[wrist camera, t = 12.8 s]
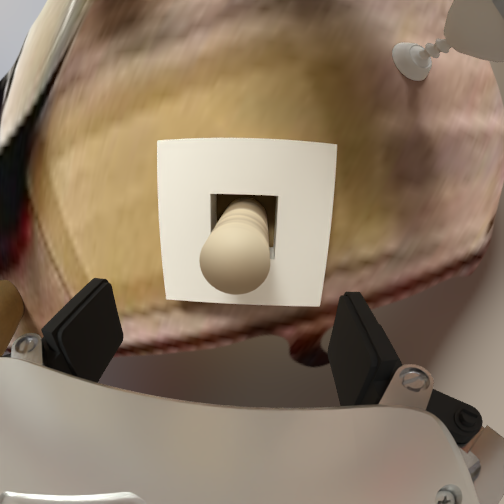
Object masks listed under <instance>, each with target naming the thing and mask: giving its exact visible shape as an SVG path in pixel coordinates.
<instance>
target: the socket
mask: <svg viewBox="0 0 504 504" xmlns="http://www.w3.org/2000/svg"><path fill="white" fill-rule="evenodd" d="M336 158H337V144H329V143H319V142H309V141H296V140H282V139H261V138H193V139H172V140H158V141H157V177H158V208H159V226H160V241H161V253H162V264H163V274H164V283H165V292H166V299H170V300H183V301H196V302H211V303H228V304H248V305H274V306H320V302H321V296H322V289H323V283H324V276H325V269H326V262H327V254H328V246H329V238H330V229H331V220H332V210H333V199H334V187H335V173H336ZM217 194H246V195H272V196H276V207H275V226H274V244H273V247H269V249H270V270H269V273H268V276H267V278H266V279H265V281H264V282H263V283H262V284H261V285H260V286H259V287H258V288H257V289H255V290H253V291H251V292H249V293H245V294H240V295H233V294H227V293H224V292H221V291H219V290H217V289H215V288H214V287H213V286H211V285H210V284H209V283H208V282H207V280H206V279H205V278H204V276H203V274H202V271H201V268H200V262H199V260H200V252H201V249H202V247H203V245H204V244H205V242H206V240H207V239H208V237H209V235H210V234H211V232H212V231H213V229H214V227H215V226H216V224H217Z"/></svg>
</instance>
